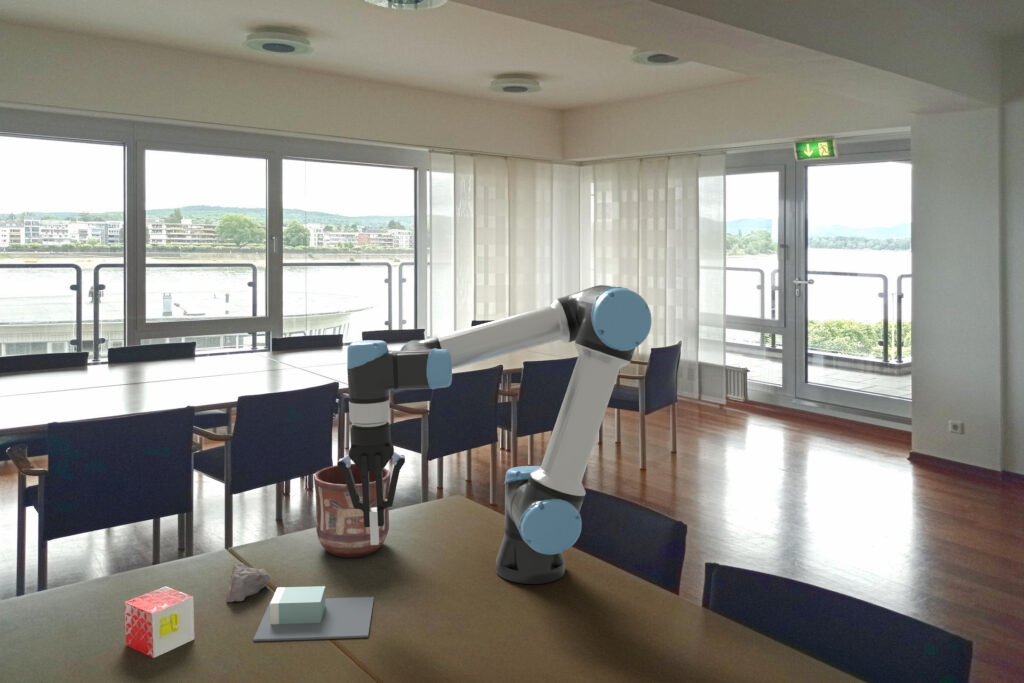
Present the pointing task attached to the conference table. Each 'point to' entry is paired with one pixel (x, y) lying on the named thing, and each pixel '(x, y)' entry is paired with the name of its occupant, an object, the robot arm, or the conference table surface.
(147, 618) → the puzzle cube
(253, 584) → the stone
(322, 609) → the painted block
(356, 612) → the slate mat
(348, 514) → the pottery
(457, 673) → the conference table surface
